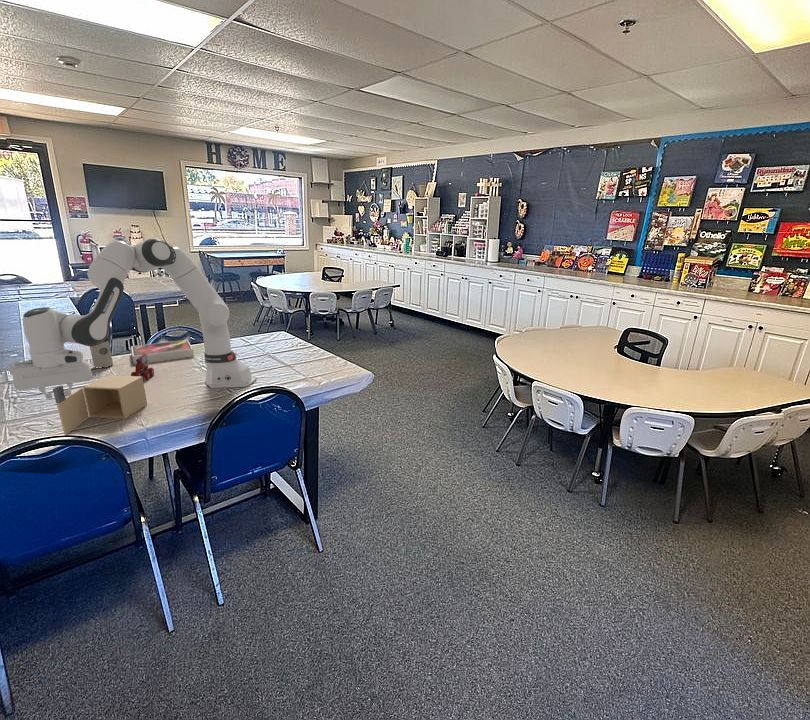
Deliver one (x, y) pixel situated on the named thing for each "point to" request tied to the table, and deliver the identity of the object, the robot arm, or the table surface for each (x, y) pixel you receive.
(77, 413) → the carton flap
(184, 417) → the table surface
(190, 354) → the product packaging
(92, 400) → the carton
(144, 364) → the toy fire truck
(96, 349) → the travel mug
